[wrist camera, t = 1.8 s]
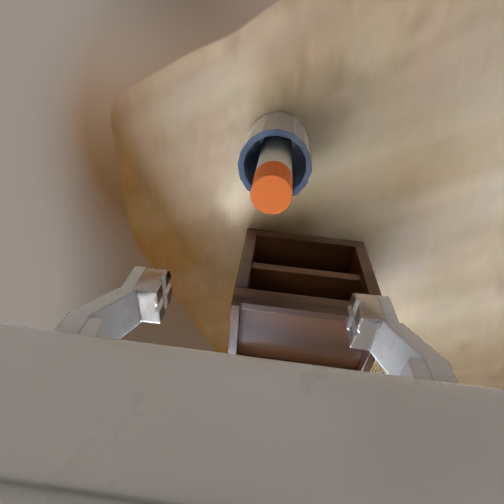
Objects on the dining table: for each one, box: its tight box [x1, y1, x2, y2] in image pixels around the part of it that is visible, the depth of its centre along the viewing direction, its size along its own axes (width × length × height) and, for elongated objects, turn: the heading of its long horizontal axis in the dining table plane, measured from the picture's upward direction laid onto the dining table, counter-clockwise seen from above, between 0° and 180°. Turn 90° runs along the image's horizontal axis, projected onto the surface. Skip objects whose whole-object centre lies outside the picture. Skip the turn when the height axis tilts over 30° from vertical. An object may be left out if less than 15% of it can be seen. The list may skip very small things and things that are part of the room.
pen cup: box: [238, 112, 312, 196], centre depth 30 cm, size 6×6×7 cm
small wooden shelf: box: [228, 229, 382, 372], centre depth 36 cm, size 9×14×13 cm, turn 86°
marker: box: [250, 136, 293, 214], centre depth 28 cm, size 3×3×12 cm
